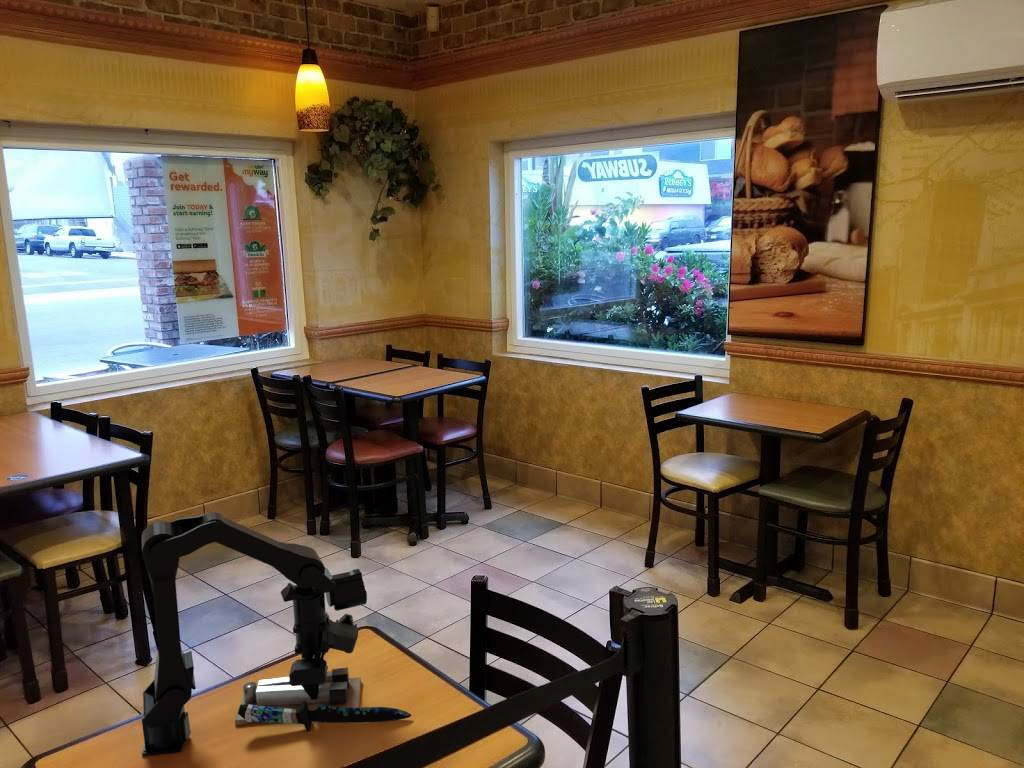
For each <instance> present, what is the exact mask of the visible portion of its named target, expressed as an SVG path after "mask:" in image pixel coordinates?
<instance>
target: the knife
mask: <svg viewBox="0 0 1024 768" xmlns="http://www.w3.org/2000/svg"><path fill="white" fill-rule="evenodd" d="M239 706H240V708H239V707H238V709H239V711H238V710H237V712H238V714H239V715H240V716H241V717H242V718H244V719H245V720H246V721H248V722H262V723H267V724H268V723H271V724H274V723H275V724H298V725H303V727H304V728H305V731H306V733H309V732H311V729H312V726H313V723H329V724H330V723H331V724H333V723H334V724H337V723H338V724H343V723H344V724H345V723H346V724H349V723H350V724H351V723H353V724H357V723H359V724H360V723H361V724H362V723H378V722H379V723H380V722H391V721H392V722H394V721H401V720H405V719H408V718H410V717H412V714H411V713H409V712H408V711H405V710H403V709H400V708H396V707H395V708H394V707H388V706H387V707H386V706H371V707H370V706H368V707H367V706H366V707H359V708H338V707H332V706H328V705H324V704H321V703H320V706H319V708H318V709H316V710H309V708H308V705H307V702H306V701H303V702H302V705H301V708H300V709H296V710H295V709H286V708H277V707H267V706H258V705H250V704H241V705H240V704H239Z"/></svg>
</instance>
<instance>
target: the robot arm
mask: <svg viewBox="0 0 1024 768" xmlns="http://www.w3.org/2000/svg"><path fill="white" fill-rule="evenodd" d="M141 534H142V535H141V555H142V559H143V562H144V565H145V568H146V569H145V570H146V571H147V573H148V577H149V580H150V582H151V585H152V592H153V593H152V595H153V605H154V606H153V607H154V614H155V615H154V616H155V617H154V618H155V628H156V638H157V650H158V651H157V656H156V661H155V669H154V678H153V680H152V682H151V683H150V684H149V685H148V686H147V687H146V688H145V689H144V691H143V692H142V701H143V702H142V704H143V714H142V716H141V726H142V733H143V734H142V735H143V741H144V746H143V748H142V750H141V755H142V756H152V755H161V754H173V753H180V752H182V750H183V748H184V745H185V743H186V742H187V741H188V738H189V736H190V733H191V727H190V718H189V712H188V711H186V710H185V705H186V704H187V703H188V701H189V702H190V701H191V698H192V691H193V690H196V686H197V685H196V681H195V672H194V671H195V667H194V666H195V665H194V660H193V652H192V651H191V650H189V651H187V652H184V651H183V649H182V645H181V633H180V620H179V608H178V597H177V596H178V593H177V584H176V583H177V582H176V580H177V575H178V571H179V566H180V565H179V563H180V558H182V557H186V556H188V555H190V554H193V553H194V552H196V551H197V550H200V549H201V548H203V547H205V546H207V545H209V544H212V543H217V544H218V545H221V546H222V547H223V546H224V547H226V548H228V549H230V550H233V551H235V552H237V553H240V554H242V555H244V556H247V557H250V558H251V559H254V560H256V561H259V562H261V563H263V564H266V565H268V566H270V567H272V568H273V569H275V570H277V571H278V572H279V573H280V574H281V575H283V577H285V579H287V580H289V582H287V585H286V586H285V587H284V588H282V590H281V591H280V595H281V598H282V600H283V602H285V603H288V602H291V601H292V608H293V610H292V611H293V619H294V620H293V622H294V624H293V627H292V633H293V634H295V646H294V654H295V655H297V654H300V655H301V658H299V659H296V660H294V661H293V663H292V664H291V666H290V669H289V674H288V677H289V680H290V685H291V686H300V685H301V686H302V687H303V688H304V690H305V691H306V693H307V694H308V696H309V697H310V698H311V700H316V699H317V698H318V691H319V684H321V683H324V682H325V681H326V676H327V672H328V670H329V669H328V668H329V665H328V662H327V660H325V658H324V657H325V655H326V654H327V653H329V650H330V649H333V650H335V651H341V652H344V653H345V654H352V653H353V652H354V650H355V646H356V644H357V640H358V638H359V637H358V636H359V630H360V629H359V627H358V624H357V623H354V618H353V615H352V614H348V613H344V614H343V615H342V616H341V617H340V618H339V619H336V621H333V620H331V618H330V615H329V614H328V612H327V610H326V609H327V608H326V601H327V605H328V607H329V608H331V607H332V608H333V610H334V611H335V612H337V611H338V612H339V611H342V610H347V609H351V608H355V607H356V608H357V607H359V606H363V605H366V604H367V603H368V602H367V601H368V593H367V590H366V586H365V583H364V580H363V579H364V578H363V573H362V571H361V569H359V568H355V569H352V570H349V571H346V572H342V573H337V574H331V573H330V570H329V569H328V568H326V567H325V564H324V562H323V561H322V560H321V558H320V556H319V554H318V552H317V551H316V550H315V548H312V547H310V546H308V545H307V546H306V545H302V544H299V543H298V544H297V543H294V542H293V543H291V542H290V543H288V542H282V541H278V540H276V539H274V538H271V537H269V536H267V535H265V534H262V533H260V532H258V531H255V530H253V529H252V528H249V527H246V526H244V525H242V524H240V523H237V522H235V521H233V520H231V519H228V518H226V517H225V516H223V515H222V514H221V513H219V512H215V511H213V512H208V513H204V514H201V515H197V516H196V515H195V516H189V517H181V518H177V519H173V520H170V521H165V520H164V521H163V520H162V521H161V520H160V521H159V520H158V521H156V522H151V524H149V525H147V527H146V528H145V529H144V530H143V531H142V533H141ZM325 597H326V599H325Z"/></svg>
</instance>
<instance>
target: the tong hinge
mask: <svg viewBox="0 0 1024 768" xmlns="http://www.w3.org/2000/svg"><path fill="white" fill-rule="evenodd" d="M257 687H258V684H257V683H256V682H255V681H249V682H245V683H244V684H243V686H242V692H243V693H242V694H244V703H245V704H250V705H252V704H255V703H256V702H257V700H256V690H257Z"/></svg>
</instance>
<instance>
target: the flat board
mask: <svg viewBox="0 0 1024 768" xmlns="http://www.w3.org/2000/svg"><path fill="white" fill-rule="evenodd" d="M361 684H362V677H361V676H359V677H349V688H348V698H347V703H340V704H330V702H322V703H321V704H324V705H328V706H332V707H338V708H360V698H361ZM241 704H245V703H244V693H242V697H241V700H240V703H239V705H238V709H237V712H236V715H235V718H234V725H235V726H238V725H240V726H241V725H248V724H249V725H251V724H261V723H262V724H263V722H248V721H246V720H245V719H244V718H242V717H241V716H240V715H239V714H238V711H239V708H240V705H241ZM252 705H257V702H256V703H255V704H252ZM301 705H302V704H286V705H268V706H267V707H277V708H286V709H295V710H296V709H300V708H301ZM307 705H308V708H309V710H316V709H318V708H319V706H320V703H307Z"/></svg>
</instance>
